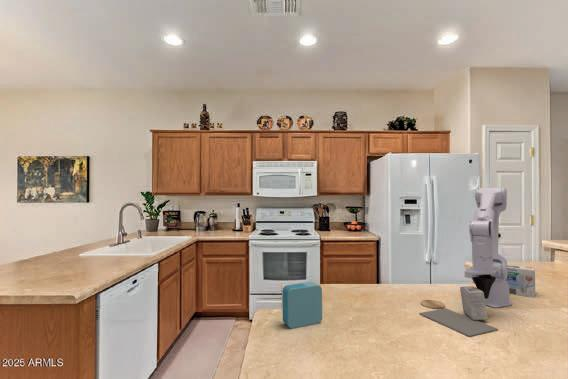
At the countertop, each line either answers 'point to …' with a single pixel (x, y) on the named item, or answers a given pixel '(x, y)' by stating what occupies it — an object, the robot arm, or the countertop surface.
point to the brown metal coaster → (433, 304)
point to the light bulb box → (521, 280)
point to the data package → (302, 304)
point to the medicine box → (473, 302)
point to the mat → (458, 322)
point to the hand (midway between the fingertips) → (483, 297)
